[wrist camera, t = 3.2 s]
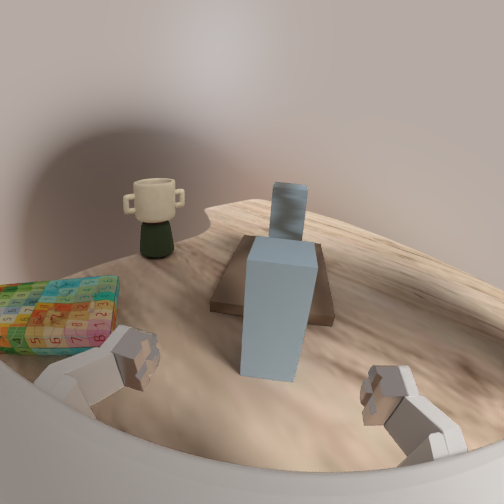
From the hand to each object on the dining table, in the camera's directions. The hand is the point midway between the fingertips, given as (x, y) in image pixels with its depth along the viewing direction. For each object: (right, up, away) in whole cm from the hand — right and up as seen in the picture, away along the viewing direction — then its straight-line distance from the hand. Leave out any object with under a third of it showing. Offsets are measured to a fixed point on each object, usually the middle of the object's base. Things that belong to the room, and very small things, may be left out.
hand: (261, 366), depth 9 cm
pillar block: (+1, -7, +17) cm, 18 cm away
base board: (+4, +1, +34) cm, 34 cm away
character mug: (-17, +4, +38) cm, 42 cm away
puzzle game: (-25, -6, +16) cm, 30 cm away
